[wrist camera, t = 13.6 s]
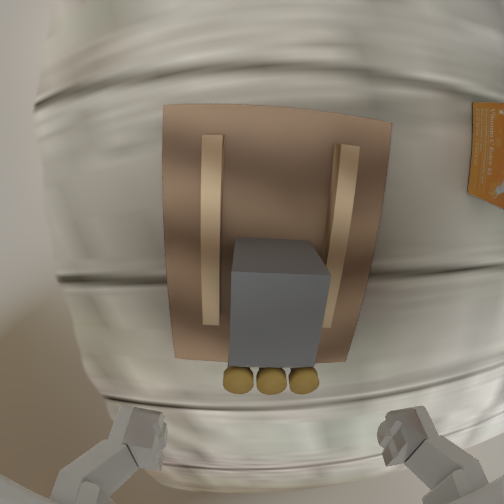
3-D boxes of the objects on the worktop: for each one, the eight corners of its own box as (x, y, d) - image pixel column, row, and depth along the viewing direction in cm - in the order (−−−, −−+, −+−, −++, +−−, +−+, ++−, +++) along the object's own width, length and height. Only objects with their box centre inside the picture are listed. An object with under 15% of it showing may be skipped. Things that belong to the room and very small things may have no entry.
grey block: (235, 236, 21) (231, 271, 15) (309, 240, 21) (331, 275, 15) (233, 316, 23) (229, 368, 17) (299, 318, 23) (313, 369, 17)
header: (167, 106, 18) (122, 94, 11) (385, 123, 18) (449, 125, 11) (177, 350, 26) (159, 418, 18) (342, 354, 26) (365, 419, 19)
